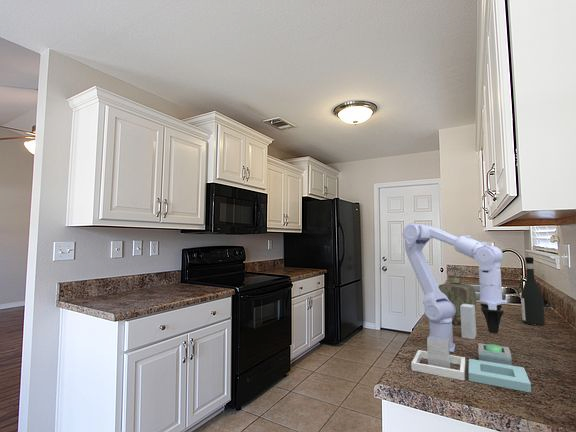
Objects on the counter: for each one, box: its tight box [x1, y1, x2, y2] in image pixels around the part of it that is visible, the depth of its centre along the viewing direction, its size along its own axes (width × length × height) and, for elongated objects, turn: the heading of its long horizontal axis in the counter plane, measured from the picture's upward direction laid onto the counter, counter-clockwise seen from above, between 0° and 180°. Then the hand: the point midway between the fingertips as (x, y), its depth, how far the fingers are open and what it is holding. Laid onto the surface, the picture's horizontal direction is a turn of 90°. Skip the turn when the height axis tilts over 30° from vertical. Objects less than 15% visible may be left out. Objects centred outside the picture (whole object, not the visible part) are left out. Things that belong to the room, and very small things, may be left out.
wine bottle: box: [520, 256, 546, 326], centre depth 144 cm, size 8×8×30 cm
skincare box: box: [460, 304, 477, 340], centre depth 122 cm, size 6×4×12 cm
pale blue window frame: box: [468, 358, 532, 393], centre depth 84 cm, size 12×13×2 cm
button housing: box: [477, 342, 513, 366], centre depth 95 cm, size 8×8×4 cm
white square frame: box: [410, 349, 466, 381], centre depth 91 cm, size 13×13×2 cm
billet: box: [426, 335, 451, 369], centre depth 91 cm, size 4×6×8 cm
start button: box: [485, 343, 502, 352], centre depth 95 cm, size 4×4×4 cm
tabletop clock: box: [438, 267, 477, 325], centre depth 143 cm, size 14×9×25 cm, turn 46°
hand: (492, 330), depth 96 cm, fingers open, 6 cm apart
